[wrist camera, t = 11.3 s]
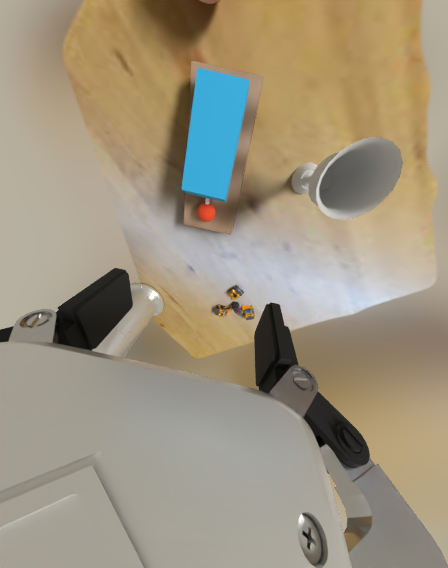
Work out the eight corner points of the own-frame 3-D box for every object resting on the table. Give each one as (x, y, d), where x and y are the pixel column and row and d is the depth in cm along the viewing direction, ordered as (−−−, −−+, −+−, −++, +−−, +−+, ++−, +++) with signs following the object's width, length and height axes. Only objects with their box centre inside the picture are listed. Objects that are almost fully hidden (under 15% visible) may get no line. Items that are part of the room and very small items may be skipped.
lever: (206, 106, 28) (189, 218, 34) (197, 67, 22) (178, 214, 27) (246, 115, 28) (223, 226, 34) (249, 79, 22) (219, 224, 27)
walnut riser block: (232, 229, 38) (230, 234, 35) (189, 220, 38) (183, 224, 35) (261, 88, 26) (263, 76, 23) (198, 75, 26) (191, 60, 23)
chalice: (323, 147, 29) (403, 117, 14) (330, 188, 32) (401, 199, 17) (280, 170, 31) (309, 165, 16) (290, 206, 34) (322, 230, 19)
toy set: (205, 292, 50) (202, 302, 46) (242, 282, 46) (242, 292, 42) (221, 321, 55) (219, 332, 51) (256, 314, 52) (256, 325, 48)
